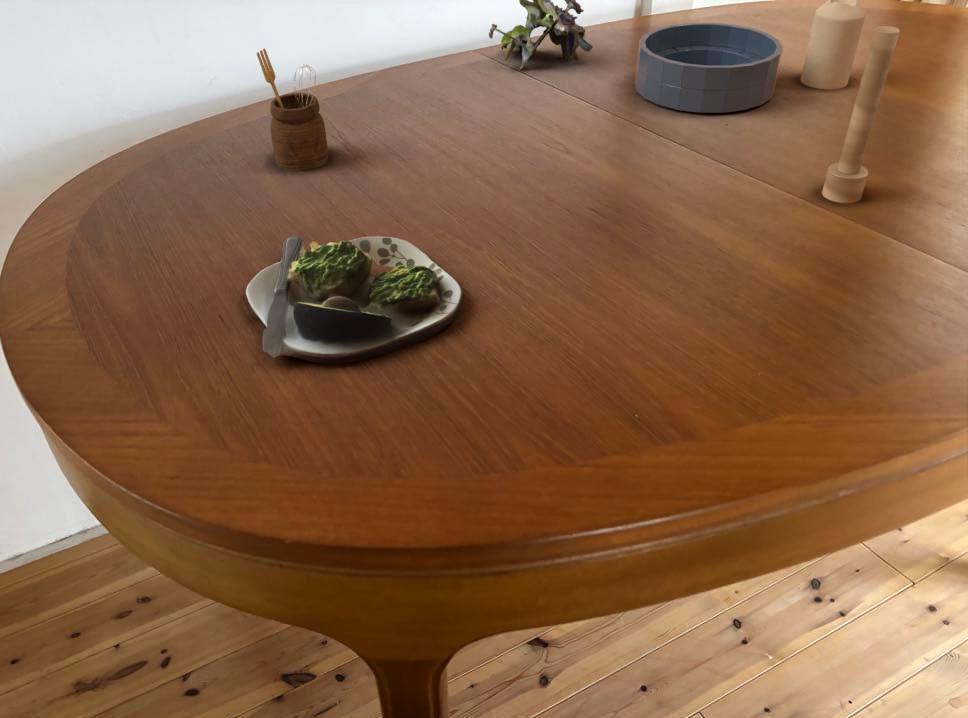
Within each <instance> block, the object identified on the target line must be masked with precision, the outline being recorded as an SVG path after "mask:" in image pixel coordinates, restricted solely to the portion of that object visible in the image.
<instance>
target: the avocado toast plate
mask: <svg viewBox="0 0 968 718" xmlns="http://www.w3.org/2000/svg"><path fill="white" fill-rule="evenodd" d="M304 243H305V242H304V240H303V238H302V237H300V236H296V235H294V236H290V237H287V238H286V239H285V240H284V242H283V245H282V254H281V259H280V261H278V262H276V263H273V264H271V265H269V266H266V267H264V268H263V269H262V270H260V271H259V272H258V273H257V274H256V275H255V276H254V277H253V278H252V279H251V280H250V281H249V283H248V284H247V287H246V289H245V295H246V298H247V301H248V303H249V306H250V307H251V309H252V311H253V312H254V314H255V315H256V316H257V317H258V319H259V320H260V321H261V322H262V323H263V325H264V327H265V328H264V329H263V331H262V351H263V352H264V353H265V354H267V355H269V356H270V357H272V358H276V357H280V356H285V357H293V358H296V359H300V360H302V361H306V362H309V363H316V364H323V365H343V364H351V363H356V362H360V361H365V360H367V359H371V358H372V359H373V358H376V357H380V356H383V355H385V354H388V353H391V352H394V351H398V350H400V349H403V348H407V347H409V346H412V345H415V344H418V343H422V342H423V341H426V340H427V339H430V338H431V337H433V336H435V335H436V334H438V333H439V332H441V331H443V330H444V329H445V328H446V327H447V326H449V325H450V324H451V323H452V322H453V321H454V320H455V318H456V316H457V315H458V313H459V311H460V309H461V306H462V300H463V291H462V287H461V286H460V284H459V282H457V281H456V280H455V279H454V278H453V277H452V276H451V275H450V274H449V273H448V272H446V271H445V270H444V269H443V268H441V267H440V266H438V264H437V263H436V262H435V261H433V260H431V258H429V256H428V255H427V254H426V253H424V252H423V251H421V249H419V248H418V247H417V246H415V245H414V244H413V243H411V242H409V241H407V240H404V239H401V238H397V237H390V236H363V237H358V238H354V239H350V240H340V241H339V242H331V241H330V242H328V243H327V244H323V245H319V244H318V242H317V240H312V241H309V246H310V249H311V250H308V249H305V245H304ZM373 265H377V266H378V265H379V266H384V267H389V268H393V269H391V270H390V271H386V270H384V271H382V272H380V274H379V273H378V275H377V276H374V275H372V274H371V269H372V266H373ZM410 325H411V326H410Z"/></svg>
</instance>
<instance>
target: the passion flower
mask: <svg viewBox="0 0 968 718" xmlns="http://www.w3.org/2000/svg"><path fill="white" fill-rule="evenodd" d="M518 2H519V5H520V6H521V7H523V8H524V9H525V10H526V12H527V15H526V20H525V21H526V22H525V25H522V24H518V25H515V26H514V27H513V28H512V29H511V30H509V31H507V32H504V31H502V30H500V29H499V28H498V24H495V23H492V24H491V27H490V29H489V33H488V37H489V39H493V37H494V32H495V31H496V32H497V33H500V34H502V35H503V36H502V37H501V42H500V48H501V50H504V49H505V50H506V52H505V55H504V60H505V61H507V60H508V58H509V57H510V55H511V53H512V52H513V50H514V49H515V52H516V53H521V58H522V59H521V63H520V67H519V69H518V70H519V71H522V70H523V69H524V67H525V65H526V64H527V62H529V61H530V60H531V59H532V57H533V58H534V55H535V54H536V53H537V48H538V47H539V46H540V45H541V43H542V42H543V41H544V39H545V38H546V37H547V36H549V39H550V41H551V42H552V44H554V45H555V46H560V49H561V55H562V58H563V59H564V60H566V61H575V62H579V60H580V59H579V56H578V55H577V49H578V47H579V48H580V49H581V50H582V51H584V52H588V53H589V52H590V51H592V49H593V47H594V45H592V44H591V43H589V42H588V41H587V40H586V38H587V37H588V36H587V35H586V29H585V28H584V26H582V25H579V24H577V23H576V21H575V20H577V19H578V16H574V14H571V13H570V12H569V11H570V10H574V11H575V13H576V14H577V15H581V14H582V13H583V12H585V9H582V6H581V5H580V4H579V2H577V0H564V2H565V3H566V7H565V9H563V7H559V5H555V4H554V2H553V1H552V0H532V1H530V0H518ZM540 27H541V28H545V29H544V30H543V32H542V34H541V35H540V36H539V38H537V40H536V41H535V42H533V41H532V40H531V34H532V32H533V30H535V29H538V28H540ZM527 44H528V45H527ZM508 45H510V46H509V49H508Z"/></svg>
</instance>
